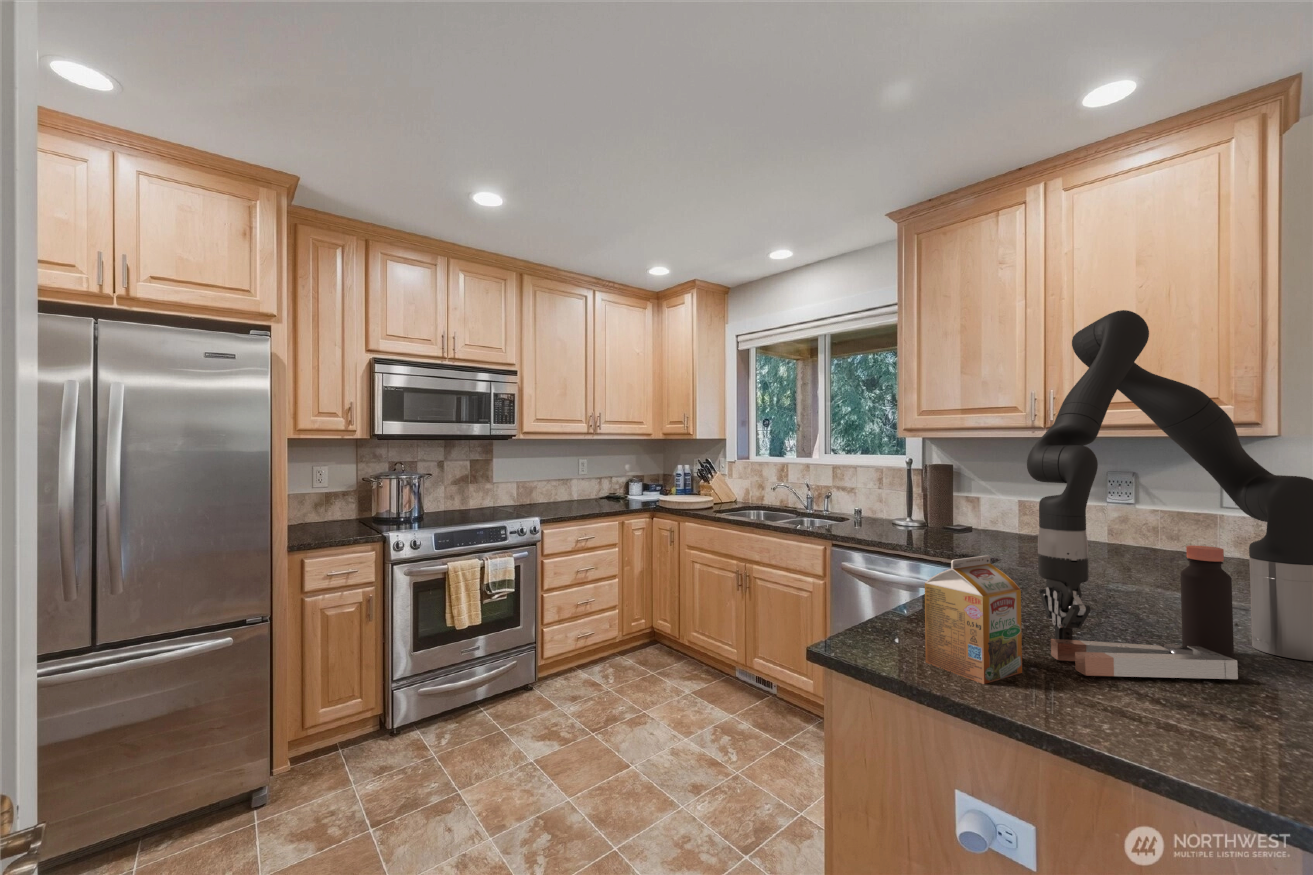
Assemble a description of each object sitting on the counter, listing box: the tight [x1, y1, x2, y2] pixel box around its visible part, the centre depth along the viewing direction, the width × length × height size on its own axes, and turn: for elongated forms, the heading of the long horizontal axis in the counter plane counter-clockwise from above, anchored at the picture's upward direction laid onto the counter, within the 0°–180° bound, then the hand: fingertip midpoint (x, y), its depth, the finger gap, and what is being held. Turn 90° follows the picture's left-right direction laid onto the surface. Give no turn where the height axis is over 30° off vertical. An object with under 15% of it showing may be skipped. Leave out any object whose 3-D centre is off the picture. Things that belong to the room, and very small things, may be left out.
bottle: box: [1179, 544, 1235, 659], centre depth 102 cm, size 7×7×20 cm
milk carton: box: [924, 555, 1023, 685], centre depth 97 cm, size 11×11×19 cm
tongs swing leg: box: [1050, 638, 1193, 662], centre depth 97 cm, size 21×4×3 cm, turn 78°
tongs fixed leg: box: [1074, 646, 1239, 680], centre depth 94 cm, size 24×7×3 cm, turn 87°
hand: (1063, 647), depth 102 cm, fingers closed
